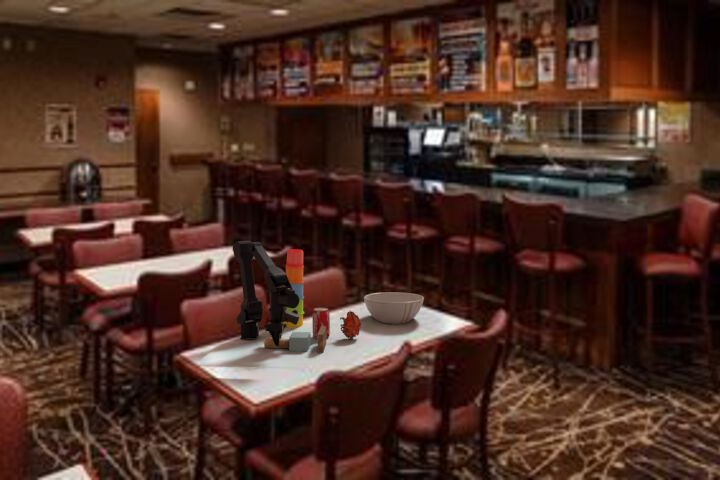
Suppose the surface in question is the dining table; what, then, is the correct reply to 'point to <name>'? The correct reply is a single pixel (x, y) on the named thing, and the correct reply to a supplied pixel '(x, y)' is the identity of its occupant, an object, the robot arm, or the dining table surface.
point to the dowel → (270, 343)
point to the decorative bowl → (393, 306)
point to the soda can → (321, 321)
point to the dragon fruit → (351, 325)
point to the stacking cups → (295, 281)
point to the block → (299, 341)
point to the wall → (321, 339)
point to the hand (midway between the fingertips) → (277, 344)
